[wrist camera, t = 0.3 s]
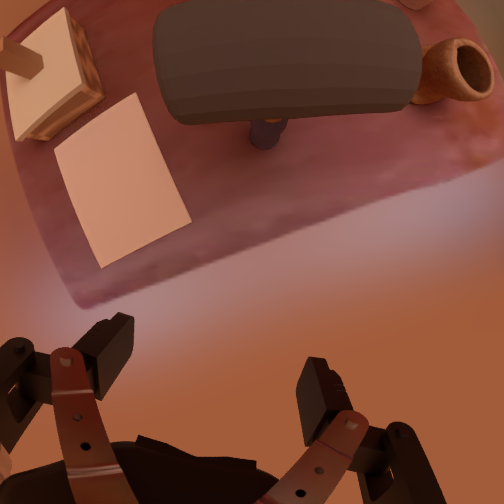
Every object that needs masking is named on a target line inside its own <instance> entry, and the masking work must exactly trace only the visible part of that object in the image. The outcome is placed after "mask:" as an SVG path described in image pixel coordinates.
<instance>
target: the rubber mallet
mask: <svg viewBox="0 0 504 504" xmlns="http://www.w3.org/2000/svg"><path fill="white" fill-rule="evenodd" d="M153 56H154V64H155V69H156V75H157V80H158V83H159V87H160V90H161V94H162V97H163V99H164V102H165V104H166V106H167V109H168V111H169V112H170V114H171V115H172V117H173V118H174V119H175V120H177V121H178V122H179V123H182V124H185V125H197V124H207V123H219V122H233V121H250V120H251V127H252V128H251V130H250V140H251V142H252V143H253V144H254V145H255V146H256V147H258V148H260V149H270V148H272V147H274V146H275V144H276V143H277V142H278V141H279V137H280V134H281V132H282V131H283V130H284V129H285V127H286V125H287V122H288V119H297V118H307V117H318V116H331V115H348V114H363V113H388V112H395V111H399V110H402V109H403V108H404V107H405V106H406V105H408V104H409V103H410V102H411V100H412V98H413V96H414V94H415V92H416V91H417V89H418V87H419V83H420V78H421V74H422V51H421V46H420V42H419V38H418V35H417V33H416V31H415V29H414V27H413V25H412V23H411V21H410V20H409V18H408V17H407V16H406V15H405V14H404V13H403V12H402V11H401V10H400V9H399V8H397V7H395V6H393V5H390V4H387V3H384V2H381V1H377V0H191V1H187V2H184V3H180V4H176V5H173V6H170V7H168V8H166V9H165V10H163V11H162V12H161V13H160V14H159V16H158V17H157V19H156V21H155V24H154V28H153Z"/></svg>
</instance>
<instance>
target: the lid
mask: <svg viewBox="0 0 504 504" xmlns="http://www.w3.org/2000/svg"><path fill="white" fill-rule="evenodd" d="M0 69H3V70H5V71H6V80H7V90H8V99H9V107H10V113H11V119H12V125H13V131H14V136H15V140H16V141H21V142H22V141H23V140H24V139H25V138H26V137H27V136H28V135H29V134H30V133H31V132H32V131H33V130H34V129H35V128H36V127H37V126H38V125H40V124H41V123H42V122H43V121H44V120H45V119H46V118H47V117H49V116H50V115H51V114H52V113H53V112H54V111H56V110H57V109H58V108H59V107H60V106H62V105H63V104H64V103H65V102H67V101H68V100H69V99H70V98H72V97H73V96H74V95H76V94H77V93H78V92H80V91H81V90H82V89H84V88H85V87H86V86H87V83H86V80H85V76H84V73H83V69H82V66H81V62H80V58H79V55H78V51H77V47H76V43H75V39H74V35H73V30H72V26H71V21H70V16H69V12H68V10H67V9H66V8H65V7H64V8H62V9H61V10H60V11H58V12H57V13H56V14H54V15H53V16H52V17H50V18H49V19H48V20H47V21H46V22H44V23H43V24H42V25H41V26H40V27H38V28H37V29H36V30H35V31H34V32H33V33H32V34H30V35H29V36H28V37H27V38H26V39H25V40H24V41H23V42H22V43H21V44H19V43H17V42H15V41H13V40H11V39H9V38H7V37H5V36H3V37H2V38H1V39H0Z"/></svg>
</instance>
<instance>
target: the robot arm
mask: <svg viewBox="0 0 504 504" xmlns="http://www.w3.org/2000/svg"><path fill="white" fill-rule="evenodd" d="M133 341H134V317H133V316H130V315H126V314H123V313H120V312H118V313H117V314H116V315H115V316H114V317H113V318H112V319H111V320H108V319H104V320H102V321H99V322H97V323H96V324H95V325H94V326H93V327H92V328H91V329H90V330H89V331H88V332H87V334H85V335H84V336H83V337H82V338H81V339H80V340H79V341H78V342H77V343H76V344H75V345H74V346H73V347H72V348H69V347H62V348H58V349H56V350H54V351H53V352H52V353H51V355H49V354H44V353H40V352H35V350H34V345H33V343H32V342H31V341H30V340H28V339H26V338H23V337H16V338H12V339H10V340H8V341H7V342H6V343H5V344H4V345H2V346H1V347H0V504H324V503H325V502H326V500H327V499H328V497H329V496H330V495H331V493H332V492H333V490H334V489H335V487H336V486H337V484H338V483H339V481H340V480H341V478H342V477H343V475H344V473H345V472H346V470H350V471H354V472H357V476H358V481H359V485H360V490H361V494H362V499H363V504H447V503H446V501H445V499H444V496H443V494H442V491H441V489H440V486H439V484H438V482H437V479H436V477H435V475H434V473H433V470H432V468H431V466H430V463H429V461H428V459H427V457H426V455H425V452H424V450H423V448H422V446H421V444H420V442H419V440H418V438H417V436H416V434H415V431H414V430H413V429H412V428H411V427H410V426H409V425H407V424H405V423H403V422H393V423H390V424H389V425H388V427H387V428H386V429H381V428H377V427H373V426H369V422H368V420H367V419H366V418H365V417H364V416H363V415H362V414H360V413H359V412H356V411H354V410H353V407H352V405H351V402H350V399H349V397H348V395H347V393H346V390H345V387H344V386H343V382H342V380H341V377H340V376H339V375H338V374H337V373H336V372H335V371H334V370H330V369H329V367H328V364H327V361H326V359H324V358H317V357H308V359H307V361H306V363H305V366H304V368H303V371H302V373H301V376H300V378H299V380H298V383H297V387H296V397H297V403H298V409H299V414H300V420H301V426H302V432H303V437H304V444H305V446H307V447H309V448H308V450H307V451H306V452H305V453H304V454H303V455H302V457H301V458H300V459H299V460H298V461H297V462H296V463H295V464H294V465H293V467H292V468H291V469H290V470H289V471H288V472H287V473H286V474H285V475H284V476H283V477H282V478H281V479H280V480H279V479H277V478H276V477H274V476H273V475H271V474H269V473H267V472H264V471H262V470H259V469H256V461H255V460H247V459H239V458H233V457H196V456H193V455H190V454H188V453H186V452H184V451H181V450H179V449H177V448H175V447H173V446H171V445H169V444H167V443H164V442H160V441H157V440H153V439H150V438H147V437H144V436H140V435H138V437H137V440H136V442H129V441H121V442H112V443H110V442H109V439H108V436H107V434H106V431H105V428H104V425H103V422H102V419H101V416H100V413H99V410H98V407H97V404H96V400H95V399H98V400H100V401H102V399H103V398H104V396H105V395H106V393H107V392H108V390H109V388H110V387H111V385H112V384H113V382H114V381H115V379H116V378H117V376H118V375H119V373H120V371H121V370H122V368H123V367H124V365H125V364H126V362H127V361H128V359H129V358H130V356H131V354H132V351H133V344H134V342H133ZM14 385H15V387H14V388H13V389H12V390H11V388H12V387H13V386H14ZM10 390H11V392H10V393H9V391H10ZM8 393H9V394H8ZM43 403H46V404H50V405H53V408H54V415H55V420H56V426H57V431H58V436H59V441H60V445H61V450H62V454H63V458H64V460H61V461H58V462H55V463H52V464H49V465H45V466H42V467H39V468H35V469H31V470H28V471H24V472H20V473H17V474H13V475H11V476H10V471H11V468H12V461H11V458H10V456H9V454H10V453H11V451H12V450H13V448H14V446H15V445H16V443H17V442H18V440H19V438H20V437H21V435H22V434H23V432H24V431H25V429H26V428H27V426H28V425H29V423H30V422H31V420H32V419H33V418H34V416H35V415H36V413H37V412H38V410H39V409H40V407H41V406H42V404H43ZM390 469H391V470H392V473H393V477H394V480H393V478H392V474H391V471H390Z"/></svg>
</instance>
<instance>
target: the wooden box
mask: <svg viewBox="0 0 504 504" xmlns="http://www.w3.org/2000/svg"><path fill="white" fill-rule="evenodd" d="M70 21H71V26H72V30H73V35H74V39H75V43H76V47H77V51H78V55H79V58H80V62H81V66H82V69H83V73H84V76H85V80H86V83H87V86H86V87H85V88H84V89H82V90H81V91H80V92H78V93H77V94H76V95H74V96H73V97H72V98H70V99H69V100H68V101H67V102H65V103H64V104H63V105H62V106H60V107H59V108H58V109H57V110H56V111H54V112H53V113H52V114H51V115H50V116H49V117H47V118H46V119H45V120H44V121H43V122H42V123H41V124H40V125H38V126H37V127H36V128H35V129H34V130H33V131H32V132H31V133H30V134H29V135H28V136H27V137H26V138H32V139H39V140H45V141H49V140H50V139H51V138H52V137H54V136H55V135H56V134H57V133H58V132H60V131H61V130H62V129H63V128H65V127H66V126H67V125H68V124H70V123H71V122H72V121H74V120H75V119H76V118H77V117H79V116H80V115H81V114H83V113H84V112H86V111H87V110H88V109H90V108H91V107H93V106H94V105H95V104H97V103H98V102H100V101H101V100H103V99H104V98H106V97H105V94H104V91H103V88H102V85H101V82H100V79H99V76H98V73H97V70H96V67H95V64H94V60H93V57H92V54H91V50H90V47H89V44H88V40H87V36H86V33H85V29H84V28H83V27H81V26H80V25H79V24H78V23H77V22H75V21H74V20H73V19H72V18H71V17H70Z"/></svg>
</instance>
